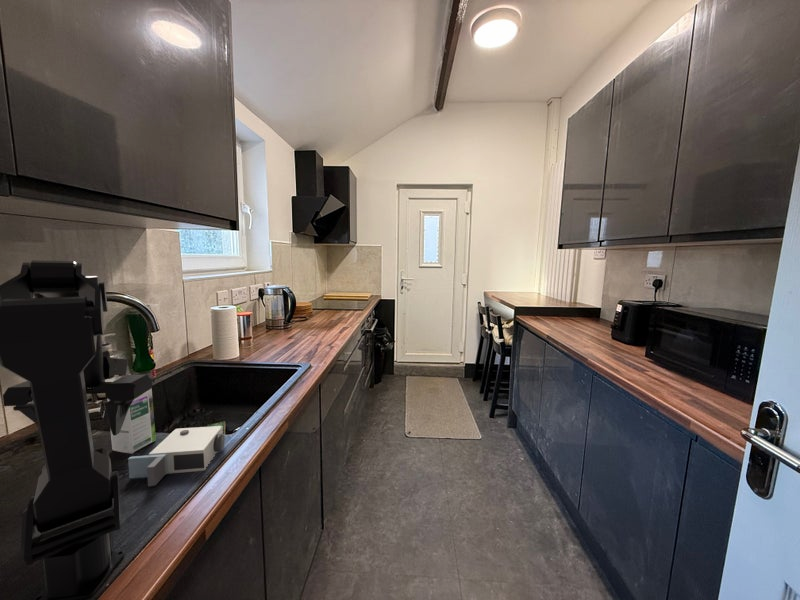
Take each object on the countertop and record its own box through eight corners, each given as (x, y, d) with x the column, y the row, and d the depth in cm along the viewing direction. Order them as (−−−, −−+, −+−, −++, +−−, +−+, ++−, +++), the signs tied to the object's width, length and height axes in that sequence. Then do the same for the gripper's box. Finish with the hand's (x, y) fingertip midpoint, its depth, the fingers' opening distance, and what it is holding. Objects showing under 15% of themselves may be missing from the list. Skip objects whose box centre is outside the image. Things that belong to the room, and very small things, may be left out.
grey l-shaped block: (155, 486, 59) (153, 466, 59) (116, 490, 58) (115, 469, 58) (167, 472, 64) (166, 454, 63) (131, 475, 62) (130, 456, 62)
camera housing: (209, 470, 65) (208, 447, 65) (150, 475, 63) (148, 452, 63) (227, 443, 75) (227, 423, 74) (176, 447, 73) (175, 427, 73)
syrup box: (131, 454, 70) (127, 391, 69) (110, 450, 71) (105, 389, 70) (156, 440, 76) (152, 382, 74) (136, 437, 77) (132, 380, 75)
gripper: (166, 337, 63) (171, 412, 65) (58, 339, 60) (65, 418, 62) (128, 352, 52) (135, 441, 54) (-7, 355, 49) (4, 450, 51)
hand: (86, 436), depth 55 cm, fingers open, 9 cm apart
